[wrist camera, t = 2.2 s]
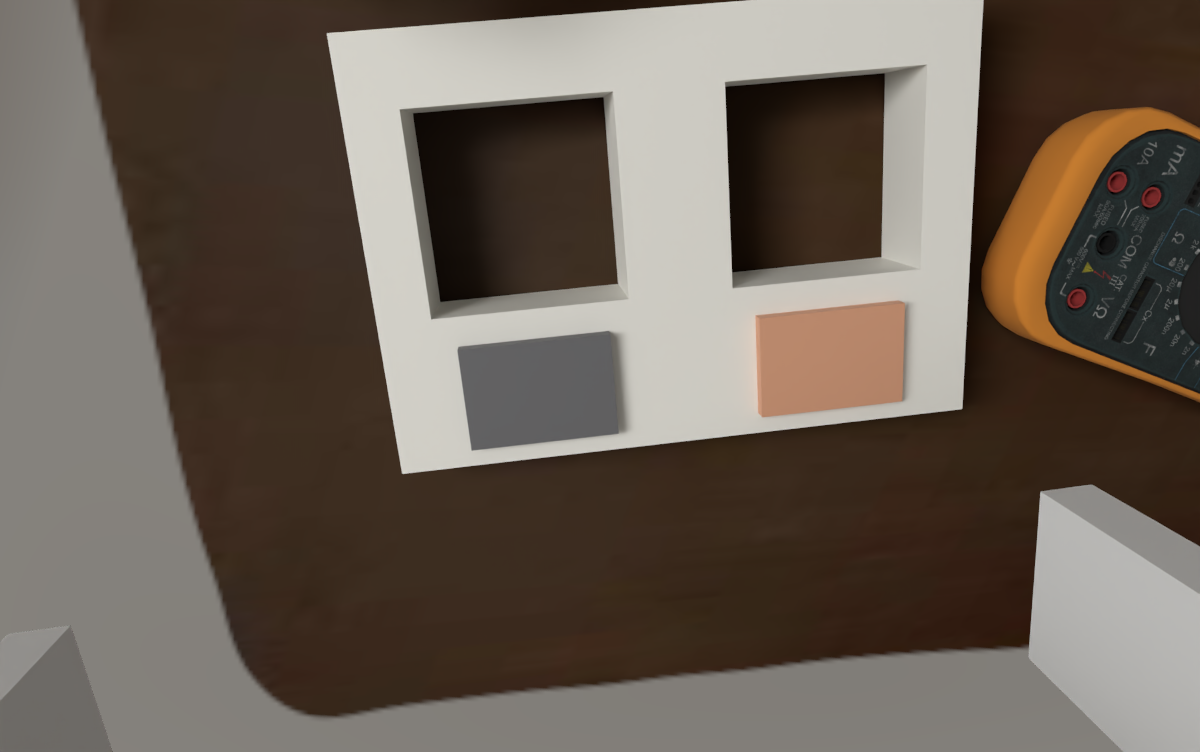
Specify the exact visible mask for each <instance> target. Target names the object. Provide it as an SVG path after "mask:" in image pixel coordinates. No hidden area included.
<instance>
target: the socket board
mask: <svg viewBox="0 0 1200 752" xmlns="http://www.w3.org/2000/svg"><path fill="white" fill-rule="evenodd" d="M982 18H983V0H748V1H735V2H722V3H709V4H697V5H684V6H671V7H658V8H645V9H632V10H620V11H607V12H594V13H581V14H568V15H555V16H542V17H530V18H517V19H504V20H491V21H478V22H465V23H453V24H440V25H427V26H414V27H401V28H388V29H375V30H363V31H350V32H337V33H327V38H328V44H329V49H330V55H331V61H332V67H333V73H334V79H335V84H336V90H337V96H338V102H339V108H340V114H341V119H342V125H343V131H344V137H345V143H346V148H347V154H348V160H349V166H350V172H351V178H352V183H353V189H354V195H355V201H356V207H357V213H358V218H359V224H360V230H361V236H362V242H363V248H364V253H365V259H366V265H367V271H368V277H369V283H370V288H371V294H372V300H373V306H374V312H375V317H376V323H377V329H378V335H379V341H380V347H381V352H382V358H383V364H384V370H385V376H386V382H387V387H388V393H389V399H390V405H391V411H392V417H393V422H394V428H395V434H396V440H397V446H398V452H399V457H400V463H401V469H402V474H406V473H414V472H423V471H432V470H440V469H449V468H458V467H466V466H475V465H483V464H492V463H501V462H509V461H518V460H527V459H535V458H544V457H553V456H561V455H570V454H579V453H587V452H596V451H604V450H613V449H622V448H630V447H639V446H648V445H656V444H665V443H674V442H682V441H691V440H699V439H708V438H717V437H725V436H734V435H743V434H751V433H760V432H769V431H777V430H786V429H795V428H803V427H812V426H820V425H829V424H838V423H846V422H855V421H864V420H872V419H881V418H890V417H898V416H907V415H915V414H924V413H933V412H941V411H950V410H959V409H962V405H963V386H964V367H965V347H966V328H967V308H968V289H969V270H970V250H971V231H972V211H973V192H974V173H975V153H976V134H977V115H978V95H979V76H980V56H981V37H982ZM881 73H885V99H884V152H883V205H882V257H879V258H869V259H859V260H850V261H840V262H830V263H820V264H810V265H800V266H790V267H781V268H771V269H761V270H751V271H741V272H732V260H731V232H730V205H729V177H728V150H727V123H726V95H725V87H728V86H740V85H752V84H763V83H775V82H787V81H799V80H810V79H822V78H834V77H846V76H857V75H869V74H881ZM599 97H603V98H604V111H605V123H606V136H607V148H608V161H609V174H610V186H611V199H612V212H613V224H614V237H615V250H616V262H617V275H618V284H613V285H603V286H593V287H583V288H574V289H564V290H554V291H544V292H534V293H524V294H514V295H505V296H495V297H485V298H475V299H465V300H455V301H445V302H440V296H439V289H438V282H437V275H436V269H435V262H434V255H433V248H432V241H431V234H430V228H429V221H428V214H427V207H426V200H425V193H424V187H423V180H422V173H421V166H420V159H419V152H418V146H417V139H416V132H415V125H414V118H413V113H423V112H435V111H446V110H458V109H470V108H482V107H493V106H505V105H517V104H529V103H540V102H552V101H564V100H576V99H587V98H599Z"/></svg>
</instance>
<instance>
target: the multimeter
mask: <svg viewBox="0 0 1200 752" xmlns="http://www.w3.org/2000/svg"><path fill="white" fill-rule="evenodd" d="M981 290H982V294H983V297H984V300H985V304H986V307H987V308H988V310H989V311H990V312H991V314H992V315H993V316H994V318H995V319H996V320H997V321H998V322H999V323H1000V324H1001V325H1003V326H1004V327H1006V328H1007V329H1009V330H1011V331H1012V332H1014V333H1015V334H1017V335H1019V336H1022V337H1024V338H1027V339H1029V340H1032V341H1035V342H1037V343H1040V344H1043V345H1045V346H1048V347H1051V348H1054V349H1057V350H1059V351H1062V352H1065V353H1068V354H1071V355H1074V356H1076V357H1079V358H1082V359H1085V360H1088V361H1091V362H1093V363H1096V364H1099V365H1102V366H1105V367H1108V368H1110V369H1113V370H1116V371H1119V372H1122V373H1124V374H1127V375H1130V376H1133V377H1136V378H1139V379H1141V380H1144V381H1147V382H1150V383H1152V384H1155V385H1157V386H1160V387H1162V388H1165V389H1167V390H1170V391H1172V392H1175V393H1177V394H1180V395H1182V396H1185V397H1187V398H1190V399H1192V400H1195V401H1197V402H1200V128H1199V127H1197V126H1195V125H1193V124H1191V123H1189V122H1187V121H1185V120H1183V119H1181V118H1180V117H1178V116H1176V115H1174V114H1172V113H1170V112H1167V111H1163V110H1159V109H1155V108H1151V107H1140V108H1124V109H1111V110H1102V111H1093V112H1090V113H1087V114H1084V115H1082V116H1080V117H1077V118H1075V119H1073V120H1071V121H1069V122H1067V123H1065V124H1063V125H1062V126H1060V127H1059V128H1058V129H1057V130H1056V131H1055V132H1054V133H1052V134H1051V135H1050V136H1049V137H1048V138H1047V139H1046V140H1045V142H1044V143H1043V145H1042V146H1041V148H1040V149H1039V151H1038V152H1037V154H1036V155H1035V157H1034V158H1033V160H1032V162H1031V164H1030V166H1029V168H1028V170H1027V172H1026V174H1025V176H1024V178H1023V180H1022V182H1021V184H1020V186H1019V188H1018V190H1017V193H1016V195H1015V197H1014V199H1013V201H1012V203H1011V205H1010V207H1009V209H1008V211H1007V213H1006V215H1005V217H1004V219H1003V221H1002V223H1001V225H1000V227H999V229H998V231H997V233H996V235H995V237H994V239H993V241H992V243H991V245H990V247H989V249H988V252H987V255H986V258H985V261H984V264H983V267H982V278H981Z"/></svg>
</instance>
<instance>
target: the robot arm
mask: <svg viewBox="0 0 1200 752" xmlns="http://www.w3.org/2000/svg"><path fill="white" fill-rule="evenodd" d="M1029 659H1030V660H1031V661H1032V662H1033V663H1034V664H1035V665H1036V666H1037V667H1038V668H1039V669H1040V670H1041V671H1042V672H1043V673H1044V674H1045V675H1046V676H1047V677H1048V678H1049V679H1050V680H1051V681H1052V682H1053V683H1054V684H1055V685H1056V686H1057V687H1058V688H1059V689H1060V690H1061V691H1062V692H1063V693H1065V695H1066V696H1067V697H1068V698H1070V700H1071V701H1072V702H1074V704H1075V705H1077V707H1079V708H1080V709H1081V710H1082V711H1083V712H1084V713H1085V714H1086V715H1087V716H1088V717H1089V718H1090V719H1091V720H1092V721H1093V722H1094V723H1095V724H1096V725H1097V726H1098V727H1099V728H1100V729H1101V730H1102V731H1103V732H1104V733H1105V734H1106V735H1107V736H1108V737H1109V738H1110V739H1111V740H1112V741H1113V742H1114V743H1115V744H1116V745H1117V746H1118V747H1119V748H1120V749H1121V750H1122V751H1123V752H1200V547H1199V546H1198V545H1196V544H1194V543H1193V542H1191V541H1189V540H1187V539H1186V538H1184V537H1182V536H1180V535H1179V534H1177V533H1175V532H1173V531H1172V530H1170V529H1168V528H1166V527H1165V526H1163V525H1161V524H1160V523H1158V522H1156V521H1154V520H1153V519H1151V518H1149V517H1147V516H1146V515H1144V514H1142V513H1140V512H1139V511H1137V510H1135V509H1134V508H1132V507H1130V506H1128V505H1127V504H1125V503H1123V502H1121V501H1120V500H1118V499H1116V498H1114V497H1113V496H1111V495H1109V494H1107V493H1106V492H1104V491H1102V490H1101V489H1099V488H1097V487H1095V486H1094V485H1085V486H1077V487H1070V488H1063V489H1056V490H1048V491H1041V493H1040V507H1039V520H1038V534H1037V548H1036V561H1035V575H1034V589H1033V603H1032V616H1031V630H1030V644H1029ZM0 752H113V751H112V748H111V746H110V742H109V739H108V736H107V733H106V730H105V727H104V724H103V721H102V718H101V715H100V712H99V709H98V706H97V703H96V700H95V697H94V694H93V691H92V688H91V685H90V682H89V679H88V676H87V673H86V670H85V667H84V664H83V661H82V658H81V655H80V652H79V649H78V646H77V643H76V640H75V637H74V634H73V631H72V628H71V626H63V627H56V628H49V629H41V630H34V631H26V632H19V633H12V634H8V635H7V636H6V637H5V638H4V639H3V640H2V641H0Z"/></svg>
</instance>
